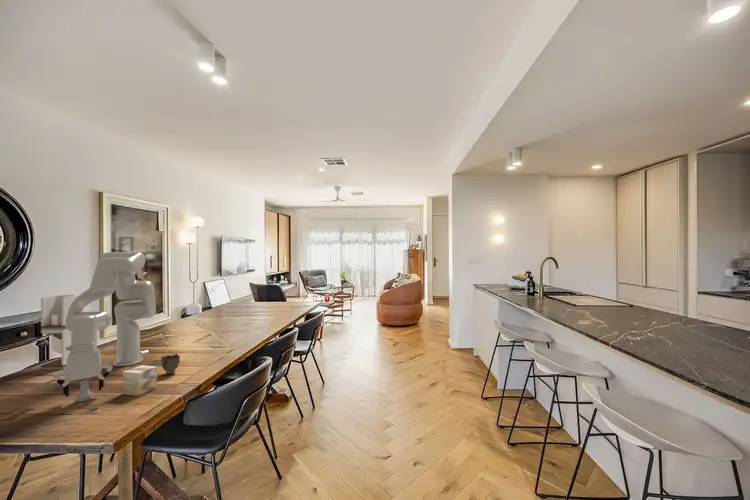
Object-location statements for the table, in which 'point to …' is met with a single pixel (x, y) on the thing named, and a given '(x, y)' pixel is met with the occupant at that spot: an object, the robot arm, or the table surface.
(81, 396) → the rook chess piece
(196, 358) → the table surface
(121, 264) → the robot arm
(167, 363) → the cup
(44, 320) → the display case
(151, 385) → the tower base
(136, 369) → the tower top
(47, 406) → the table surface
